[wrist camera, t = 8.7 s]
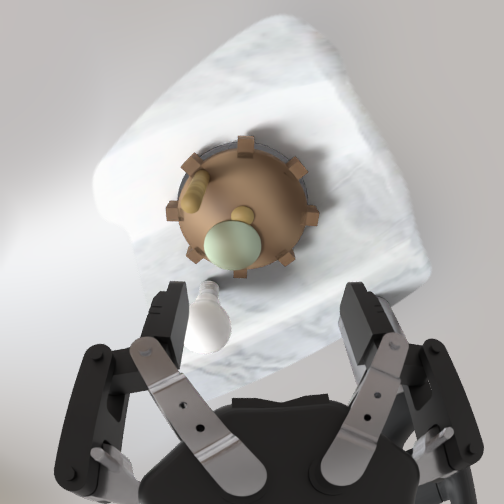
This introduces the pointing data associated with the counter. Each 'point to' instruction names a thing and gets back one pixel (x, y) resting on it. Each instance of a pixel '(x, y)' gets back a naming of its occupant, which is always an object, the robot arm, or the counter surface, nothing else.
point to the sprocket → (242, 208)
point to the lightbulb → (207, 321)
